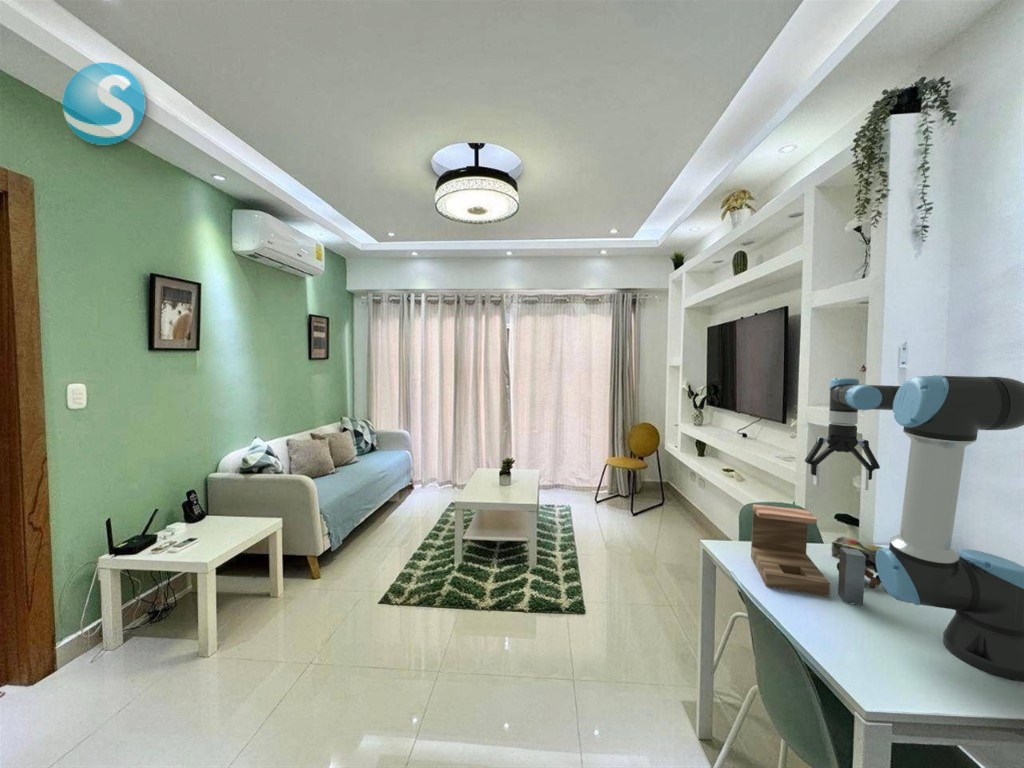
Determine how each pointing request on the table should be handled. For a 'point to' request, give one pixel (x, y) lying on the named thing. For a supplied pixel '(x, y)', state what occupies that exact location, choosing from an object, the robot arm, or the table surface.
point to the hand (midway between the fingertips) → (840, 487)
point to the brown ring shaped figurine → (870, 573)
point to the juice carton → (849, 543)
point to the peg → (851, 576)
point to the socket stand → (785, 550)
